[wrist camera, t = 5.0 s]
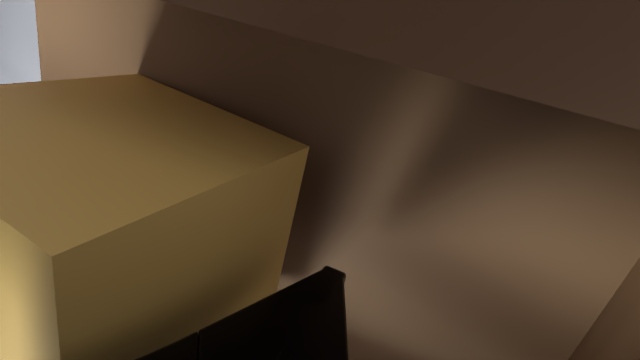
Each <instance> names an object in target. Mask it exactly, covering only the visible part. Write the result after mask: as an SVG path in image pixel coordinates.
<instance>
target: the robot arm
mask: <svg viewBox="0 0 640 360" xmlns="http://www.w3.org/2000/svg"><path fill="white" fill-rule="evenodd" d="M345 280H346V274H345V273H344V272H342V271H339V270H337V269H335V268H332V267H330V266H324V267H323V269H322V270H320V271H318V272H316V273H314V274H312V275H310V276H308V277H306V278H304V279H302V280H300V281H298V282H296V283H294V284H292V285H289V286H287V287H285V288H283V289H281V290H279V291H277V292H275V293H273V294H271V295H269V296H267V297H265V298H263V299H261V300H259V301H257V302H255V303H253V304H251V305H249V306H247V307H245V308H243V309H241V310H239V311H237V312H235V313H233V314H231V315H229V316H227V317H225V318H223V319H221V320H218V321H216V322H214V323H212V324H210V325H208V326H206V327H204V328H202V329H200V330H199V332H194V333H192V334H190V335H188V336H186V337H184V338H182V339H180V340H177V341H175V342H173V343H171V344H169V345H167V346H164V347H162V348H160V349H158V350H156V351H154V352H151V353H149V354H147V355H144V356H142V357H139V358H137V359H134V360H349V354H348V338H347V322H346V305H345V289H344V283H345Z"/></svg>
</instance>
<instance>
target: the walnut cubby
mask: <svg viewBox="0 0 640 360" xmlns="http://www.w3.org/2000/svg"><path fill="white" fill-rule="evenodd" d="M35 7H36V19H37V32H38V44H39V57H40V69H41V81H52V80H65V79H78V78H91V77H104V76H117V75H130V74H140V75H142V76H144V77H147V78H149V79H152V80H154V81H156V82H159V83H161V84H163V85H166V86H168V87H170V88H173V89H175V90H178V91H180V92H182V93H185V94H187V95H189V96H192V97H194V98H196V99H199V100H201V101H204V102H206V103H208V104H211V105H213V106H215V107H218V108H220V109H222V110H225V111H227V112H229V113H232V114H234V115H237V116H239V117H241V118H244V119H246V120H248V121H251V122H253V123H255V124H258V125H260V126H263V127H265V128H267V129H270V130H272V131H274V132H277V133H279V134H281V135H284V136H286V137H288V138H291V139H293V140H296V141H298V142H300V143H303V144H305V145H307V146H310V147H309V151H308V155H307V160H306V164H305V169H304V173H303V178H302V182H301V186H300V191H299V195H298V200H297V204H296V209H295V213H294V217H293V222H292V226H291V231H290V235H289V240H288V244H287V248H286V253H285V257H284V262H283V266H282V271H281V275H280V279H279V284H278V288H277V291H279V290H281V289H283V288H285V287H287V286H289V285H292V284H294V283H296V282H298V281H300V280H302V279H304V278H306V277H308V276H310V275H312V274H314V273H316V272H318V271H320V270H322V269H323V267H324V266H330V267H332V268H335V269H337V270H339V271H342V272H344V273H345V274H346V280H345V283H344V289H345V305H346V322H347V338H348V354H349V360H640V0H35Z"/></svg>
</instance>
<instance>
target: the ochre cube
mask: <svg viewBox="0 0 640 360" xmlns="http://www.w3.org/2000/svg"><path fill="white" fill-rule="evenodd" d="M309 147H310V146H307V145H305V144H303V143H300V142H298V141H296V140H293V139H291V138H288V137H286V136H284V135H281V134H279V133H277V132H274V131H272V130H270V129H267V128H265V127H263V126H260V125H258V124H255V123H253V122H251V121H248V120H246V119H244V118H241V117H239V116H237V115H234V114H232V113H229V112H227V111H225V110H222V109H220V108H218V107H215V106H213V105H211V104H208V103H206V102H204V101H201V100H199V99H196V98H194V97H192V96H189V95H187V94H185V93H182V92H180V91H178V90H175V89H173V88H170V87H168V86H166V85H163V84H161V83H159V82H156V81H154V80H152V79H149V78H147V77H144V76H142V75H140V74H130V75H117V76H104V77H91V78H78V79H65V80H52V81H39V82H26V83H13V84H0V360H134V359H137V358H139V357H142V356H144V355H147V354H149V353H151V352H154V351H156V350H158V349H160V348H162V347H164V346H167V345H169V344H171V343H173V342H175V341H177V340H180V339H182V338H184V337H186V336H188V335H190V334H192V333H194V332H199V330H200V329H202V328H204V327H206V326H208V325H210V324H212V323H214V322H216V321H218V320H221V319H223V318H225V317H227V316H229V315H231V314H233V313H235V312H237V311H239V310H241V309H243V308H245V307H247V306H249V305H251V304H253V303H255V302H257V301H259V300H261V299H263V298H265V297H267V296H269V295H271V294H273V293H275V292H277V288H278V284H279V279H280V275H281V271H282V266H283V262H284V257H285V253H286V248H287V244H288V240H289V235H290V231H291V226H292V222H293V217H294V213H295V209H296V204H297V200H298V195H299V191H300V186H301V182H302V178H303V173H304V169H305V164H306V160H307V155H308V151H309Z"/></svg>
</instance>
